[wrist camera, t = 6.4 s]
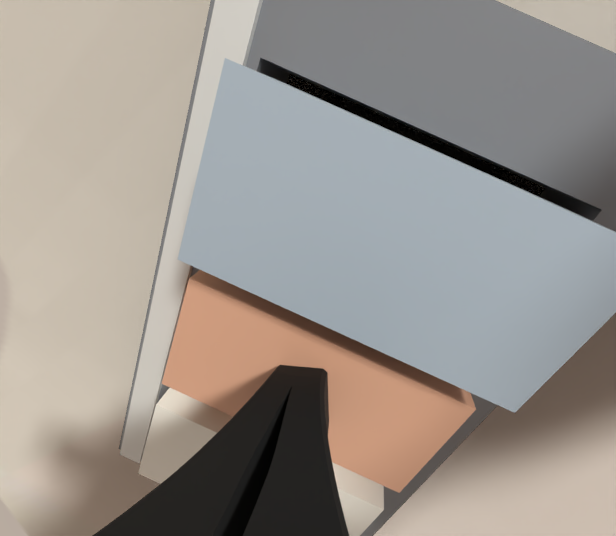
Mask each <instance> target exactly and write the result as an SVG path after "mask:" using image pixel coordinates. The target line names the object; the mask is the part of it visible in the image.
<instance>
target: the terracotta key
mask: <svg viewBox="0 0 616 536" xmlns="http://www.w3.org/2000/svg"><path fill="white" fill-rule="evenodd" d="M279 365H289V366H300V367H311V368H323V369H324V370H325V371H326V372H327V373H328V404H329V428H328V441H329V447H330V453H331V459H332V462H333V463H335V464H337V465H339V466H342V467H344V468H346V469H348V470H350V471H352V472H355V473H357V474H359V475H361V476H363V477H366V478H368V479H370V480H372V481H374V482H376V483H379V484H381V485H383V486H385V487H387V488H389V489H392V490H394V491H396V492H398V493H400V492H401V491H402V489H403V488H404V487H405V486H406V485H407V484H408V483H409V482H410V481H411V480H412V479H413V477H414V476H415V475H416V474H417V473H418V472H419V471H420V470H421V469H422V468H423V467H424V466H425V464H426V463H427V462H428V461H429V460H430V459H431V458H432V457H433V456H434V455H435V454H436V453H437V451H438V450H439V449H440V448H441V447H442V446H443V445H444V444H445V443H446V442H447V441H448V439H449V438H450V437H451V436H452V435H453V434H454V433H455V432H456V431H457V430H458V429H459V428H460V426H461V425H462V424H463V423H464V422H465V421H466V420H467V419H468V418H469V417H470V416H471V415H472V413H473V412H474V411H475V410H476V407H475V405H474V402H473V399H472V396H471V393H470V392H468V391H466V390H463V389H461V388H459V387H457V386H455V385H452V384H450V383H448V382H446V381H444V380H441V379H439V378H437V377H435V376H433V375H430V374H428V373H426V372H424V371H422V370H419V369H417V368H415V367H413V366H411V365H408V364H406V363H404V362H402V361H400V360H397V359H395V358H393V357H391V356H389V355H386V354H384V353H382V352H380V351H378V350H375V349H373V348H371V347H369V346H367V345H364V344H362V343H360V342H358V341H356V340H354V339H351V338H349V337H347V336H345V335H343V334H340V333H338V332H336V331H334V330H332V329H329V328H327V327H325V326H323V325H321V324H318V323H316V322H314V321H312V320H310V319H307V318H305V317H303V316H301V315H299V314H296V313H294V312H292V311H290V310H288V309H285V308H283V307H281V306H279V305H277V304H274V303H272V302H270V301H268V300H266V299H263V298H261V297H259V296H257V295H255V294H252V293H250V292H248V291H246V290H244V289H241V288H239V287H237V286H235V285H233V284H230V283H228V282H226V281H224V280H222V279H219V278H217V277H215V276H213V275H211V274H208V273H206V272H204V271H202V270H199V271H198V272H197V273H195V274H194V275H193V276H192V277H191V278H189V281H188V285H187V289H186V293H185V296H184V300H183V304H182V308H181V312H180V315H179V319H178V323H177V327H176V331H175V334H174V338H173V342H172V346H171V350H170V354H169V357H168V361H167V365H166V369H165V373H164V376H163V380H162V384H163V385H166V386H168V387H170V388H172V389H174V390H176V391H179V392H181V393H183V394H185V395H187V396H189V397H192V398H194V399H196V400H198V401H200V402H202V403H205V404H207V405H209V406H211V407H213V408H216V409H218V410H220V411H222V412H224V413H226V414H229V415H231V416H234V415H235V414H236V413H237V412H238V411H239V410H240V409H241V408H242V407H243V406H244V405H245V404H246V402H247V401H248V400H249V399H250V398H251V397H252V396H253V395H254V394H255V392H256V391H257V390H258V389H259V388H260V387H261V386H262V384H263V383H264V382H265V381H266V380H267V379H268V377H269V376H270V375H271V374H272V373H273V372H274V370H275V369H276V368H277V367H278V366H279Z"/></svg>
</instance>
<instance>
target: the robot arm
mask: <svg viewBox="0 0 616 536" xmlns="http://www.w3.org/2000/svg"><path fill="white" fill-rule="evenodd" d="M328 428H329V404H328V373H327V372H326V371H325V370H324V369H323V368H311V367H300V366H289V365H279V366H278V367H277V368H276V369H275V370H274V372H273V373H272V374H271V375H270V376H269V377H268V379H267V380H266V381H265V382H264V383H263V384H262V386H261V387H260V388H259V389H258V390H257V391H256V392H255V394H254V395H253V396H252V397H251V398H250V399H249V400H248V401H247V402H246V404H245V405H244V406H243V407H242V408H241V409H240V410H239V411H238V412H237V413H236V414H235V415H234V416H233V417H232V418H231V420H230V421H229V422H228V423H227V424H226V425H225V426H224V427H223V428H222V429H221V430H220V431H219V432H218V433H217V434H215V435H214V436H213V437H212V438H211V439H210V440H209V441H208V442H207V443H206V444H205V445H204V446H203V447H202V448H201V449H200V450H199V451H198V452H197V453H196V454H195V455H194V456H192V457H191V458H190V459H189V460H188V461H187V462H186V463H185V464H184V465H182V466H181V467H180V468H179V469H178V470H177V471H175V472H174V473H173V474H172V475H171V476H170V477H168V478H167V479H166V480H165V481H164V482H162V483H161V484H160V485H159V486H158V487H156V488H155V489H154V490H153V491H151V492H150V493H149V494H148V495H146V496H145V497H144V498H142V499H141V500H140V501H139V502H137V503H136V504H135V505H133V506H132V507H131V508H130V509H128V510H127V511H126V512H124V513H123V514H122V515H120V516H119V517H118V518H116V519H115V520H114V521H112V522H111V523H110V524H108V525H107V526H106V527H104V528H103V529H101V530H100V531H99V532H97V533H96V534H94V535H93V536H349V533H348V529H347V525H346V522H345V518H344V514H343V510H342V506H341V502H340V497H339V493H338V489H337V484H336V479H335V475H334V469H333V464H332V459H331V453H330V447H329V441H328Z"/></svg>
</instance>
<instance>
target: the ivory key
mask: <svg viewBox="0 0 616 536" xmlns="http://www.w3.org/2000/svg"><path fill="white" fill-rule="evenodd" d="M232 417H233V416H231V415H229V414H226V413H224V412H222V411H220V410H218V409H216V408H213V407H211V406H209V405H207V404H205V403H202V402H200V401H198V400H196V399H194V398H192V397H189V396H187V395H185V394H183V393H181V392H179V391H176V390H174V389H172V388H169V389H168V390H167V391H166V393H165V394H164V395H163V396H162V398H161V399H160V400H159V402H158V403H157V404H156V407H155V411H154V414H153V418H152V422H151V426H150V430H149V433H148V437H147V441H146V445H145V449H144V453H143V456H142V460H141V464H140V468H139V472H138V474H140V475H142V476H144V477H146V478H148V479H151V480H153V481H155V482H157V483H159V484H161V483H162V482H164V481H165V480H166V479H167V478H168V477H170V476H171V475H172V474H173V473H174V472H175V471H177V470H178V469H179V468H180V467H181V466H182V465H184V464H185V463H186V462H187V461H188V460H189V459H190V458H191V457H192V456H194V455H195V454H196V453H197V452H198V451H199V450H200V449H201V448H202V447H203V446H204V445H205V444H206V443H207V442H208V441H209V440H210V439H211V438H212V437H213V436H214V435H215V434H217V433H218V432H219V431H220V430H221V429H222V428H223V427H224V426H225V425H226V424H227V423H228V422H229V421H230V420H231V418H232ZM332 464H333V469H334V475H335V479H336V484H337V489H338V493H339V497H340V502H341V506H342V510H343V514H344V518H345V522H346V525H347V529H348V533H349V536H360V535H361V534H362V533H363V532H364V531H365V530H366V529H367V527H368V526H369V525H370V524H371V523H372V522H373V521H374V520H375V519H376V518H377V517H378V516H379V514H380V513H381V512H382V511H383V510H384V486H383V485H381V484H379V483H376V482H374V481H372V480H370V479H368V478H366V477H363V476H361V475H359V474H357V473H355V472H352V471H350V470H348V469H346V468H344V467H342V466H339V465H337V464H335V463H333V462H332Z"/></svg>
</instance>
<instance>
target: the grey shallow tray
mask: <svg viewBox="0 0 616 536" xmlns="http://www.w3.org/2000/svg"><path fill="white" fill-rule="evenodd" d="M225 58H227V59H229V60H231V61H234V62H236V63H238V64H241V65H243V66H246V67H248V68H250V69H253V70H255V71H257V72H260V73H262V74H265V75H267V76H269V77H272V78H274V79H276V80H279V81H281V82H284V83H286V84H287V81H288V78H289V75H290V74H292V75H294V76H296V77H299V78H301V79H303V80H305V81H308V82H310V83H312V84H314V85H317V86H319V87H321V88H323V89H326V90H328V91H330V92H332V93H334V94H337V95H339V96H341V97H343V98H346V99H348V100H350V101H352V102H355V103H357V104H359V105H361V106H364V107H366V108H368V109H370V110H373V111H375V112H377V113H379V114H382V115H384V116H386V117H388V118H390V119H393V120H395V121H397V122H399V123H402V124H404V125H406V126H408V127H411V128H413V129H415V130H417V131H420V132H422V133H424V134H426V135H429V136H431V137H433V138H435V139H438V140H440V141H442V142H444V143H447V144H449V145H451V146H453V147H455V148H458V149H460V150H462V151H464V152H467V153H469V154H471V155H473V156H476V157H478V158H480V159H482V160H485V161H487V162H489V163H491V164H494V165H496V166H498V167H500V168H503V169H505V170H507V171H509V172H511V173H514V174H516V175H518V176H520V177H523V178H525V179H527V180H529V181H532V182H534V183H536V184H538V185H541V186H543V187H545V189H544V191H543V192H542V193H541V195H540V196H539V197H541V198H543V199H545V200H548V201H550V202H552V203H554V204H557V205H559V206H561V207H563V208H565V209H568V210H570V211H572V212H574V213H576V214H578V215H581V216H583V217H585V218H587V219H589V220H591V221H594V222H596V223H598V224H600V225H602V226H604V227H607V228H609V229H611V230H613V231H615V232H616V53H614V52H611V51H609V50H607V49H605V48H602V47H600V46H598V45H595V44H593V43H591V42H589V41H586V40H584V39H582V38H580V37H577V36H575V35H573V34H571V33H568V32H566V31H564V30H561V29H559V28H557V27H555V26H552V25H550V24H548V23H546V22H543V21H541V20H539V19H536V18H534V17H532V16H530V15H527V14H525V13H523V12H521V11H518V10H516V9H514V8H511V7H509V6H507V5H505V4H502V3H500V2H498V1H496V0H211V2H210V7H209V12H208V17H207V22H206V27H205V32H204V37H203V41H202V46H201V51H200V56H199V61H198V66H197V71H196V76H195V80H194V85H193V90H192V95H191V100H190V105H189V110H188V115H187V119H186V124H185V129H184V134H183V139H182V144H181V149H180V153H179V158H178V163H177V168H176V173H175V178H174V183H173V188H172V192H171V197H170V202H169V207H168V212H167V217H166V222H165V227H164V231H163V236H162V241H161V246H160V251H159V256H158V261H157V266H156V270H155V275H154V280H153V285H152V290H151V295H150V300H149V305H148V309H147V314H146V319H145V324H144V329H143V334H142V339H141V344H140V348H139V353H138V358H137V363H136V368H135V373H134V378H133V383H132V387H131V392H130V397H129V402H128V407H127V412H126V417H125V421H124V426H123V431H122V436H121V441H120V446H119V449H120V450H121V451H120V455H122V456H124V457H126V458H128V459H130V460H132V461H134V462H137V463H140V462H141V460H142V456H143V453H144V449H145V445H146V441H147V437H148V433H149V430H150V426H151V422H152V418H153V414H154V411H155V407H156V404H157V403H158V402H159V400H160V399H161V398H162V396H163V395H164V394H165V393H166V391H167V390H168V389H169V388H170V387H168V386H166V385H163V384H162V380H163V376H164V373H165V369H166V365H167V361H168V357H169V354H170V350H171V346H172V342H173V338H174V334H175V331H176V327H177V323H178V319H179V315H180V312H181V308H182V304H183V300H184V296H185V293H186V289H187V285H188V281H189V278H191V277H192V276H193V275H194V274H195V273H197V272H198V271H199V270H200V269H198V268H195V267H193V266H191V265H189V264H187V263H184V262H182V261H180V260H178V255H179V250H180V246H181V242H182V238H183V233H184V229H185V225H186V221H187V216H188V212H189V208H190V204H191V199H192V195H193V191H194V187H195V182H196V178H197V174H198V170H199V165H200V161H201V157H202V153H203V149H204V144H205V140H206V136H207V132H208V127H209V123H210V119H211V115H212V110H213V106H214V102H215V98H216V93H217V89H218V85H219V81H220V76H221V72H222V68H223V64H224V60H225ZM471 396H472V399H473V402H474V405H475V407H476V410H475V411H474V412H473V413H472V415H471V416H470V417H469V418H468V419H467V420H466V421H465V422H464V423H463V424H462V425H461V426H460V428H459V429H458V430H457V431H456V432H455V433H454V434H453V435H452V436H451V437H450V438H449V439H448V441H447V442H446V443H445V444H444V445H443V446H442V447H441V448H440V449H439V450H438V451H437V453H436V454H435V455H434V456H433V457H432V458H431V459H430V460H429V461H428V462H427V463H426V464H425V466H424V467H423V468H422V469H421V470H420V471H419V472H418V473H417V474H416V475H415V476H414V477H413V479H412V480H411V481H410V482H409V483H408V484H407V485H406V486H405V487H404V488H403V489H402V491H401V492H400V493H398V492H396V491H394V490H392V489H389V488H387V487H385V486H384V510H383V511H382V512H381V513H380V514H379V516H378V517H377V518H376V519H375V520H374V521H373V522H372V523H371V524H370V525H369V526H368V527H367V529H366V530H365V531H364V532H363V533H362V534H361V535H360V536H373V535H374V534H375V533H376V532H377V531H378V530H379V529H380V528H381V527H382V526H383V525H384V524H385V523H386V521H387V520H388V519H389V518H390V517H391V516H392V515H393V514H394V513H395V512H396V511H397V510H398V509H399V508H400V507H401V506H402V505H403V504H404V503H405V502H406V501H407V500H408V498H409V497H410V496H411V495H412V494H413V493H414V492H415V491H416V490H417V489H418V488H419V487H420V486H421V485H422V484H423V483H424V482H425V481H426V480H427V479H428V478H429V477H430V475H431V474H432V473H433V472H434V471H435V470H436V469H437V468H438V467H439V466H440V465H441V464H442V463H443V462H444V461H445V460H446V459H447V458H448V457H449V456H450V455H451V454H452V452H453V451H454V450H455V449H456V448H457V447H458V446H459V445H460V444H461V443H462V442H463V441H464V440H465V439H466V438H467V437H468V436H469V435H470V434H471V433H472V432H473V431H474V430H475V428H476V427H477V426H478V425H479V424H480V423H481V422H482V421H483V420H484V419H485V418H486V417H487V416H488V415H489V414H490V413H491V412H492V411H493V410H494V409H495V408H496V407H497V405H496V404H494V403H492V402H490V401H488V400H485V399H483V398H481V397H479V396H477V395H474V394H472V393H471Z"/></svg>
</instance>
